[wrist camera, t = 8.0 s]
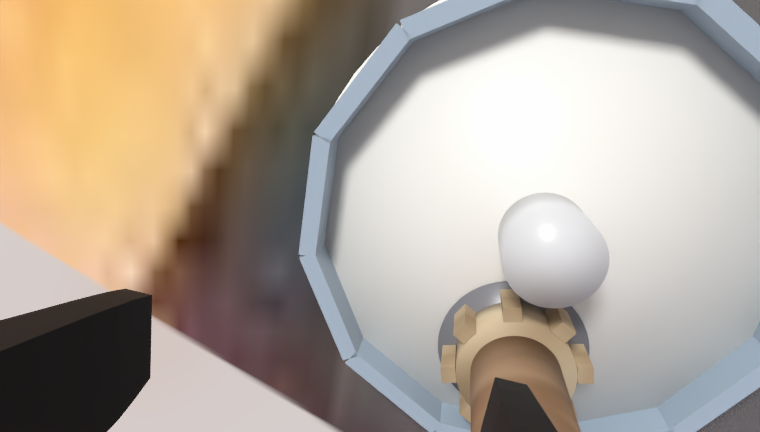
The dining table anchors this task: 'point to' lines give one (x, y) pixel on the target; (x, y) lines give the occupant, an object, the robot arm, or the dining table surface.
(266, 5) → the dining table surface
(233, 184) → the dining table surface
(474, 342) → the gear
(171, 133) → the dining table surface
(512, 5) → the carrier plate
